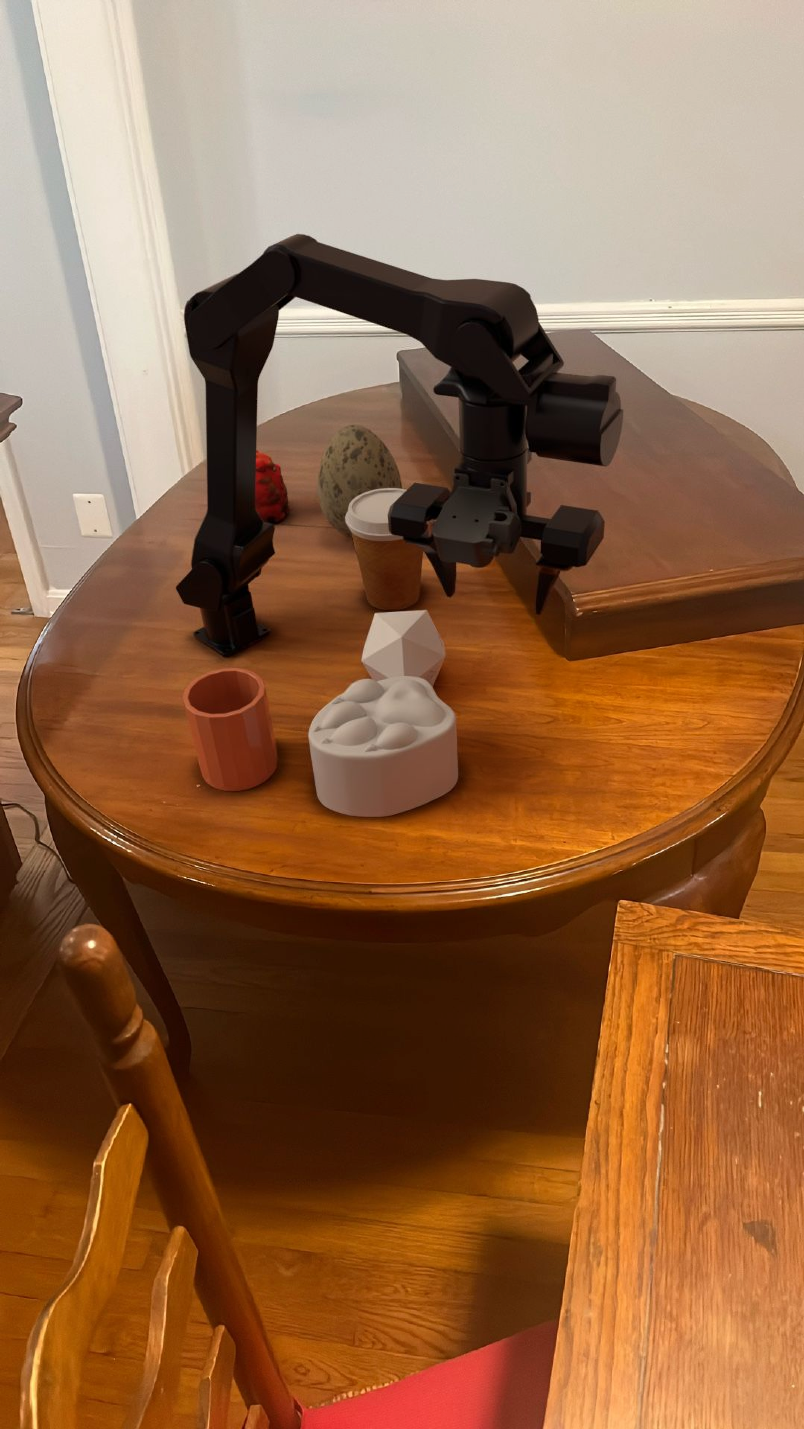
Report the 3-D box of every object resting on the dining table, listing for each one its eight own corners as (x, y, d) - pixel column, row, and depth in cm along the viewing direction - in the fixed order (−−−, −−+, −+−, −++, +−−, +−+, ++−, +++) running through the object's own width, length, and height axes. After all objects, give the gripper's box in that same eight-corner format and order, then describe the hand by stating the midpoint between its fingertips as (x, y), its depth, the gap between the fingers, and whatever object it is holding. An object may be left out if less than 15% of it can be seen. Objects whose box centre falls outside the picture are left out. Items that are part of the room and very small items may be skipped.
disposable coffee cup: (447, 587, 120) (444, 496, 112) (405, 626, 114) (399, 532, 106) (381, 569, 124) (374, 480, 116) (337, 605, 118) (327, 514, 110)
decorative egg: (307, 543, 130) (292, 434, 121) (355, 509, 137) (345, 403, 128) (373, 563, 125) (363, 450, 116) (420, 527, 132) (414, 417, 123)
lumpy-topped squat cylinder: (470, 786, 92) (468, 713, 86) (340, 835, 88) (330, 762, 83) (420, 725, 99) (416, 654, 94) (299, 767, 96) (287, 695, 90)
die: (418, 725, 101) (467, 640, 98) (340, 684, 99) (386, 597, 97) (418, 700, 109) (462, 621, 106) (345, 663, 107) (388, 581, 105)
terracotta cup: (186, 767, 97) (167, 693, 91) (247, 731, 100) (232, 658, 95) (231, 802, 92) (214, 728, 87) (293, 763, 96) (280, 689, 90)
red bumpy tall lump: (297, 520, 135) (282, 414, 126) (247, 532, 134) (229, 425, 124) (280, 498, 141) (265, 394, 132) (233, 509, 139) (214, 405, 130)
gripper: (352, 471, 82) (367, 629, 92) (569, 504, 75) (561, 671, 85) (409, 420, 90) (418, 571, 99) (611, 446, 83) (600, 605, 92)
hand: (494, 603), depth 94 cm, fingers open, 9 cm apart
